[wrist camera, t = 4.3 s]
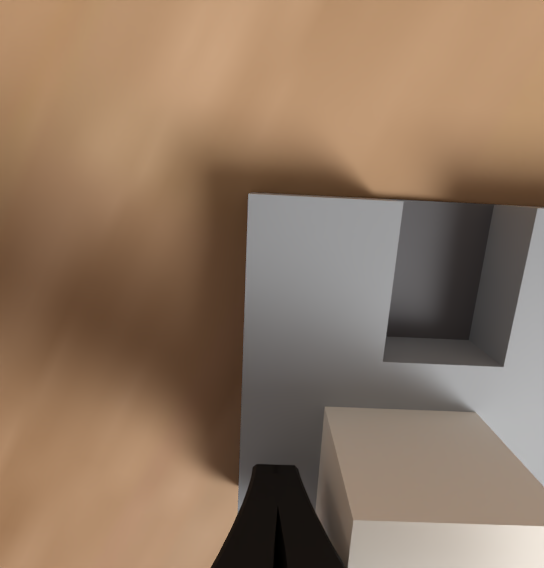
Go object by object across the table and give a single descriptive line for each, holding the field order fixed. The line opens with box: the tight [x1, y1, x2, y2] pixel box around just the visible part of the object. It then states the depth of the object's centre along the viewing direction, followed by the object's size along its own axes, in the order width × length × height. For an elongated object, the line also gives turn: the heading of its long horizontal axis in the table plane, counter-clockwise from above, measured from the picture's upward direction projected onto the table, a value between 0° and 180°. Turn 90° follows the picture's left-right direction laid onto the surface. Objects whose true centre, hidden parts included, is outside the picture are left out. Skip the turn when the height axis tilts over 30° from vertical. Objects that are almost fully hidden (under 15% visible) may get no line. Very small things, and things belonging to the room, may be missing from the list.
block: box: [315, 407, 544, 568], centre depth 10 cm, size 4×4×4 cm
